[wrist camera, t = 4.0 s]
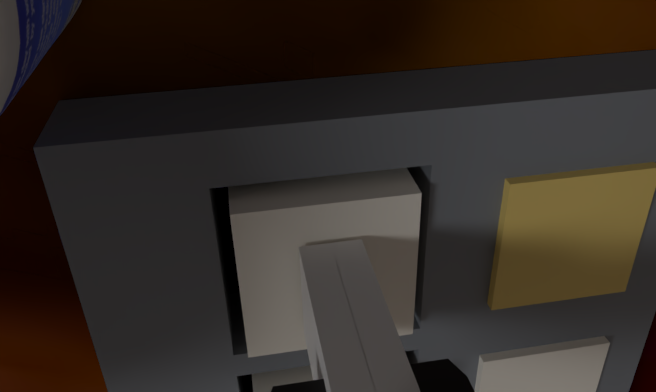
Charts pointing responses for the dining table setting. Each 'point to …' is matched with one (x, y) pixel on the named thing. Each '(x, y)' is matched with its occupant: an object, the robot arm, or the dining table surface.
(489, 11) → the dining table surface
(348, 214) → the button
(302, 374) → the button
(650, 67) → the board
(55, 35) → the pill bottle
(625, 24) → the dining table surface
